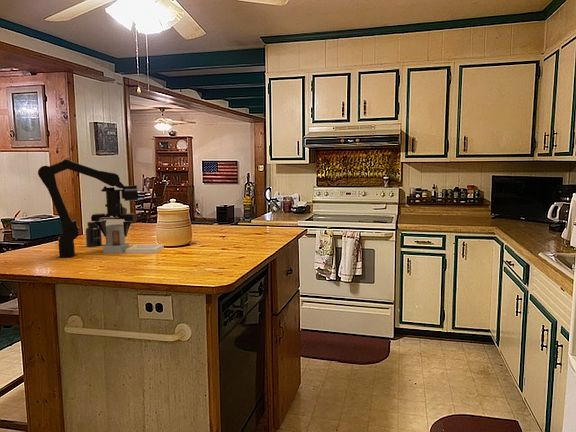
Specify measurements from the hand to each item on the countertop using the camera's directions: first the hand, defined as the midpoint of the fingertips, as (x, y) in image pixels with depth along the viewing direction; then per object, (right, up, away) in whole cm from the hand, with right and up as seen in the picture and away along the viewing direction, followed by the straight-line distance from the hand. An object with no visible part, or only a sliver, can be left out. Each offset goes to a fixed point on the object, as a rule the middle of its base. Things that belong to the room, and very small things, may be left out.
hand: (115, 236), depth 193 cm
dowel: (0, -7, +1) cm, 7 cm away
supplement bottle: (-16, -6, +15) cm, 23 cm away
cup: (-6, -6, +15) cm, 17 cm away
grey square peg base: (0, -7, +1) cm, 7 cm away
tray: (+13, -7, +1) cm, 15 cm away
